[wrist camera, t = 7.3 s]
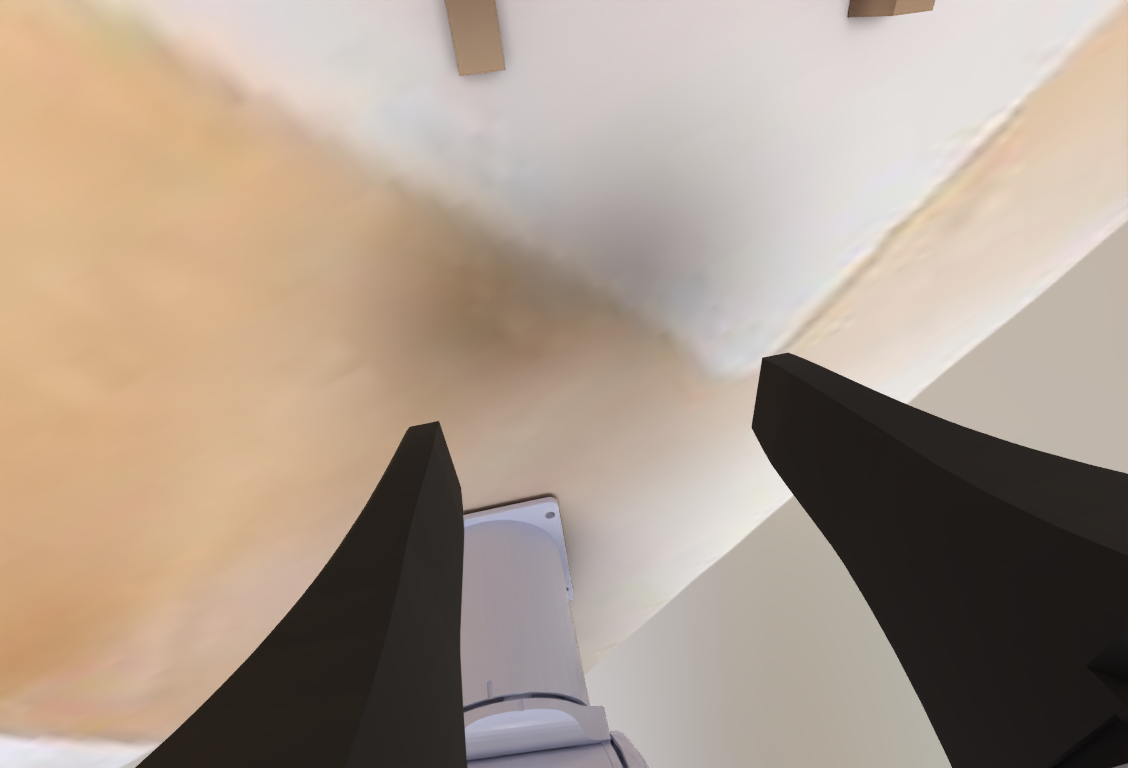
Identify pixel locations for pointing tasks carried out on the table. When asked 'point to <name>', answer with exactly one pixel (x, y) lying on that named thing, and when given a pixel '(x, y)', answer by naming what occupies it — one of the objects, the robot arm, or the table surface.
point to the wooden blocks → (482, 42)
